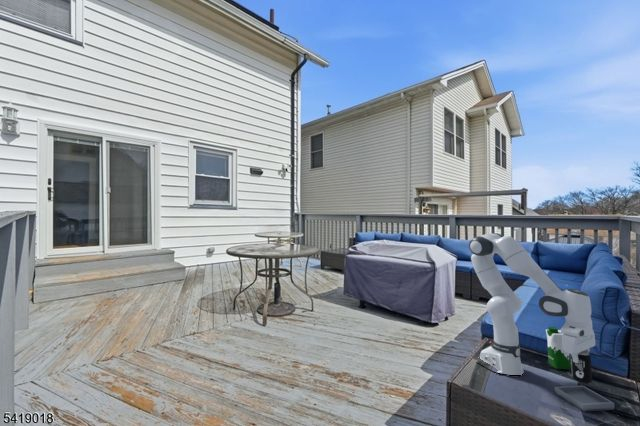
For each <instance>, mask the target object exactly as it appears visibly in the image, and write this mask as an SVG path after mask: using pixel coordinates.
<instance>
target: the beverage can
mask: <svg viewBox="0 0 640 426" xmlns="http://www.w3.org/2000/svg"><path fill="white" fill-rule="evenodd" d="M591 357H592V356H590V352H589V353H588V352H587V351H582V352H580V353H578V358H579V361H580V362H579V363H575V362H573V358H572V356H571V355H570V362H571V369H570V370H571V377H572V378H573V380H575V381H576V382H578V383H583V384H590V383H591V382H593V371H592V358H591Z"/></svg>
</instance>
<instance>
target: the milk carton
mask: <svg viewBox="0 0 640 426" xmlns="http://www.w3.org/2000/svg"><path fill="white" fill-rule="evenodd" d="M545 333H546V340H547V357H548V358H547V360H548V364H549V365H550V366H551V367H553V368H554V369H557V370H572V369H571V354H569V353H566V352H565V351H564V350H563V343H562V335H563V333H561V329H559V328H558V327H556V326H555V327H554V326H549V327H548V329H545Z"/></svg>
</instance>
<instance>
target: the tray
mask: <svg viewBox="0 0 640 426" xmlns="http://www.w3.org/2000/svg"><path fill="white" fill-rule="evenodd" d="M554 394H556V395H557V396H559V397H561V398H562V399H564V400H565V401H566V402H568V403H569V404H572V405H573V406H574V407H576V408H578V409H579V410H580V411H582V412H595V411H614V410H615V408H616V407H615V402H613V401H611V400H610V399H608V398H606V397H605V396H602V395H601V394H599V393H597V392H596V391H594V390H592V389H590V388H588V387H586V386H585V385H566V386H554Z"/></svg>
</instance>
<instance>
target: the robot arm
mask: <svg viewBox="0 0 640 426" xmlns="http://www.w3.org/2000/svg"><path fill="white" fill-rule="evenodd" d="M468 248H469V251H470V252H471V253H472V255H471V256H470V261H471V264H472V267H473V269H474V271H475V274H476V276H477V278H478V279H479V282H480V284H481V285H482V288H484V290H486V291H487V292H488V294H490V295H491V298H490V299H489V300H488V302H487V303H486V306H485V307H486V311H487V313H488V314H489V316H490V318H491V322H492V325H493V326H492V329H493V339H491V340H489V344H490V346H487V347H486V348H484V349H482V350H481V351H480V354H479V357H480V359H481V360H483V361H484V362H486V363H488V364H490V365H491V366H493V367H495V368H496V369H497V370H498V371H497V372H498V373H504V374H509V375H521V376H523V375H524V374H525V372H524V369H523V366H522V362H521V345H520V343H519V329H518V327H517V325H516V322H515V319H514V317H515V316H514V315H515V314H516V313H519V312H520V310H521V307H522V305H523V302H522V299H521V298H520V296H519V295H517V294H516V293H515V292H514V291H513V290H512V288H511V287H510V286H509V285H508V284H507V282H506V281H505V278H504V277H503V276H502V273H501V271H500V270H499V267H497V264H496V263H495V261H494V256H497V255H498V256H499V257H500V258H501V259H502V260H503V262H504V263H505V264H506V266H507V267H508V268H509V269H510V270H511V271H513V273H515V274H518V275H521V276H522V275H523V276H525V277H528V278H529V279H531V280H532V281H534V282H535V283H536V284H537V286H539V288H540V289H541V290H542V291H543V293H545V295H543V296H541V297H540V298H539V300H538V307H539V309H540V310H541V312H543V313H544V314H545V315H548V316H551V317H563V318H565V322H564V324H563V325H562V326H561V327H560V330H561V333H563V335H562V343H563V350H564V351H565V352H566V353H569V354H570V357H571V356H572V358H573V362H575V363H579V362H580V361H579V358H578V353H580V352H582V351H587V352H588V353H589V354H590V349H591V348H593V347H594V348H595V346H596V335H595V332H594V329H593V321H592V318H591V317H592V313H593V312H592V303H591V299H590V296H589V294H587V292H585V291H584V290H580V289H576V288H575V289H574V288H566V289H565V290H564V289H562V288H561V287H559V286H558V285H557V284H556V283H555V282H554V281H553V279H552V278H551V277H550V276H549V275H548V274H547V273H546V272H545V270H543V269H542V268H541V267H540V266H539V264H538V263H537V262H536V261H535V260H534V259H533V257H532V256H531V255H530V254H529V253H528V251H527V250H526V249H525V248H524V246H522V245H521V244H520V242H519V241H517V240H516V239H515V238H513V236H510V235H505V236H504V235H502V234H501V233H498V232H497V233H496V232H491V233H485V234H482V235H478V236H477V235H476V236H474V237H473V238H472V239H470V241H469V243H468ZM523 373H524V374H523ZM522 374H523V375H522ZM509 375H508V376H509Z"/></svg>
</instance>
